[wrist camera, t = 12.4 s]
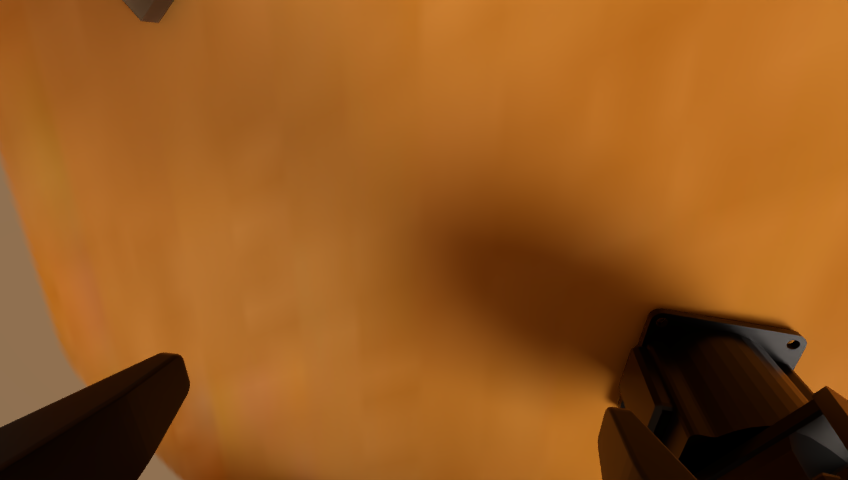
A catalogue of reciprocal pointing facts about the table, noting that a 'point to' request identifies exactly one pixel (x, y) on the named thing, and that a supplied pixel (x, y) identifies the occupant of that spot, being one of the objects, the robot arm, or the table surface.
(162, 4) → the board
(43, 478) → the robot arm
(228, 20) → the table surface
